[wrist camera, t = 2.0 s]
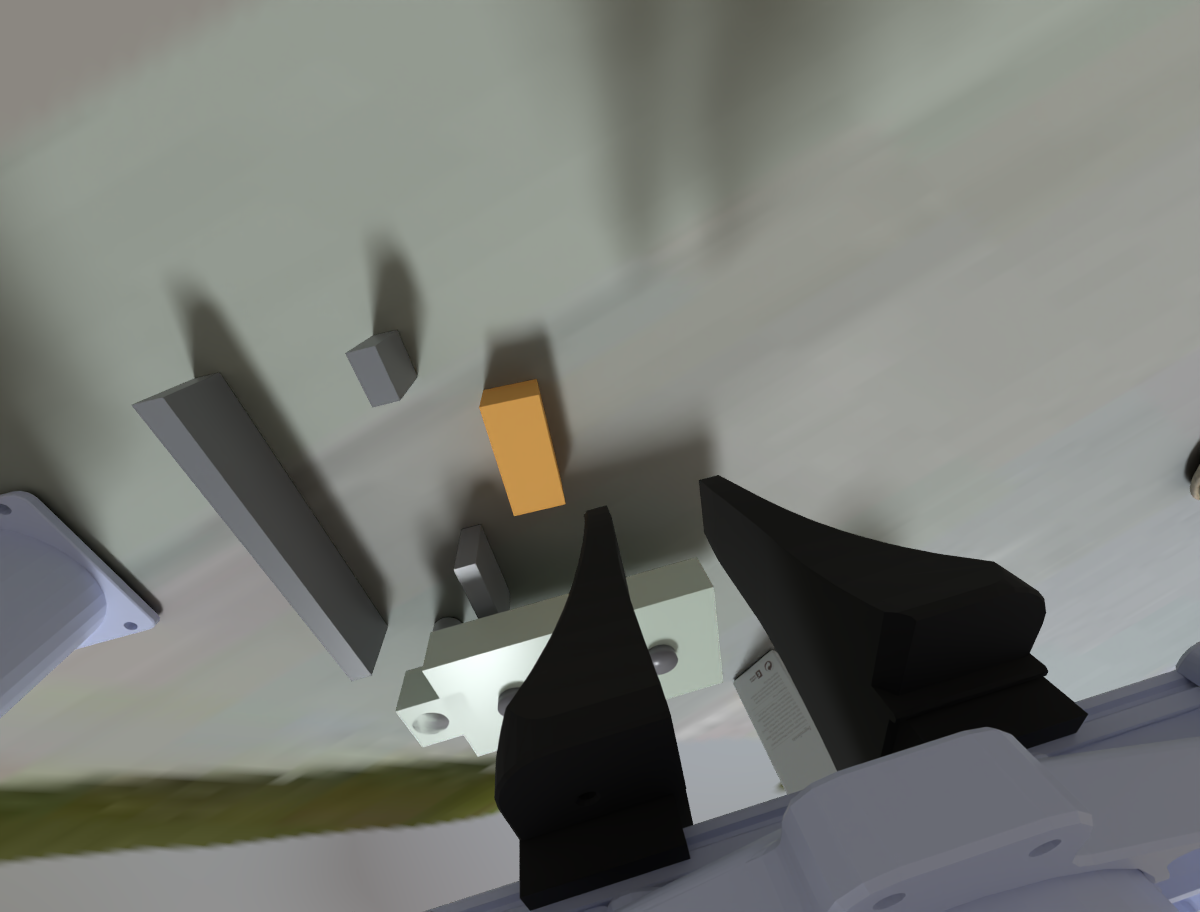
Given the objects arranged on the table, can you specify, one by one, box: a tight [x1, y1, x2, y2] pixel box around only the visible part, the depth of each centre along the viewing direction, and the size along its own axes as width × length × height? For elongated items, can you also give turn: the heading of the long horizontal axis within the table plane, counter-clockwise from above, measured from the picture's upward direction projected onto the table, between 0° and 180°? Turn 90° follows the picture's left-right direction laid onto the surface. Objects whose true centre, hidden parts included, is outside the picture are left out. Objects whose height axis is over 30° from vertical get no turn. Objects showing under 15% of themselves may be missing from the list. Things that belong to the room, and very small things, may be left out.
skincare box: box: [733, 650, 837, 795], centre depth 27 cm, size 6×4×12 cm
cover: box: [395, 557, 723, 756], centre depth 22 cm, size 7×15×6 cm, turn 101°
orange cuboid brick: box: [479, 379, 565, 516], centre depth 19 cm, size 2×5×2 cm, turn 9°
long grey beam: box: [132, 330, 510, 681], centre depth 19 cm, size 8×15×3 cm, turn 11°
